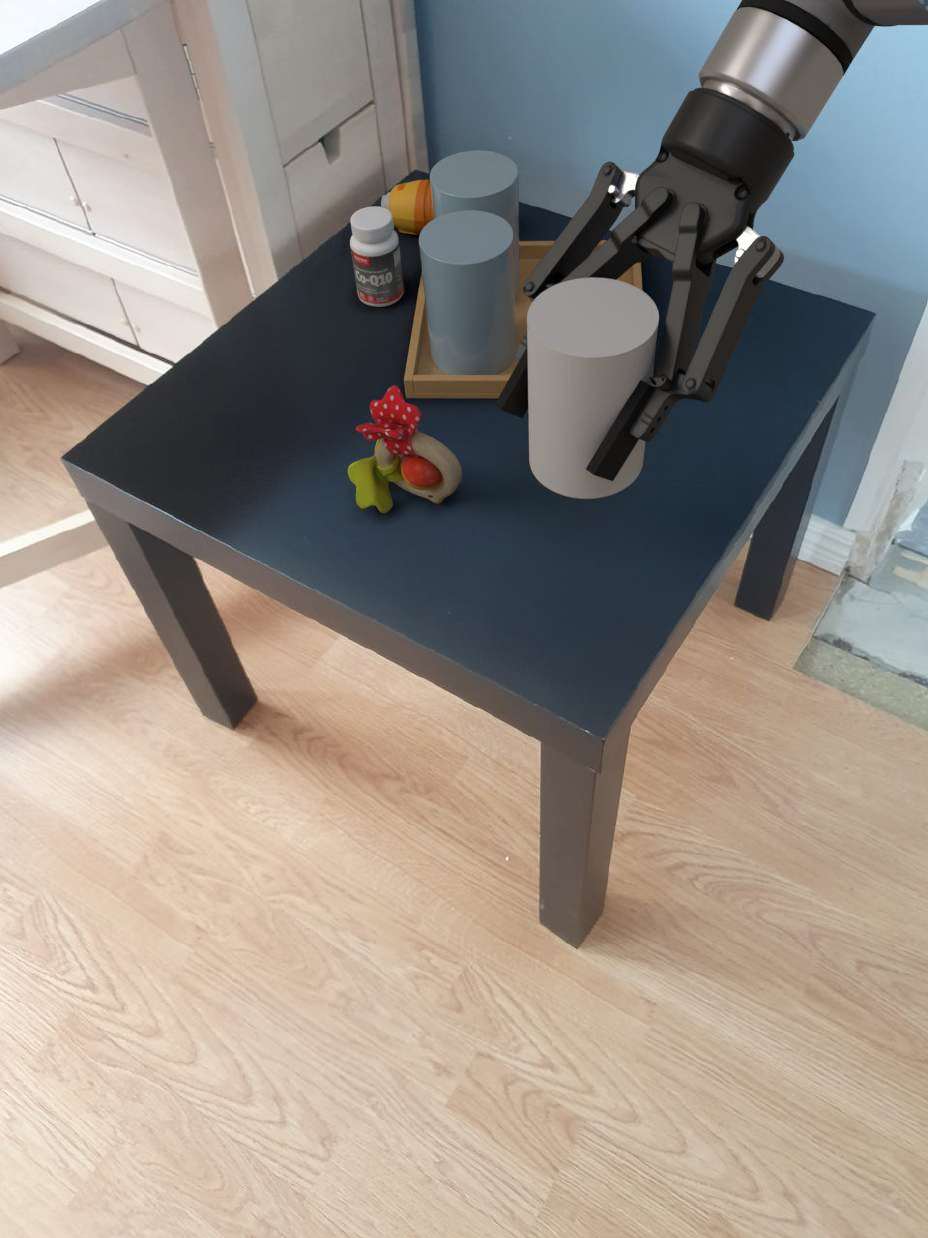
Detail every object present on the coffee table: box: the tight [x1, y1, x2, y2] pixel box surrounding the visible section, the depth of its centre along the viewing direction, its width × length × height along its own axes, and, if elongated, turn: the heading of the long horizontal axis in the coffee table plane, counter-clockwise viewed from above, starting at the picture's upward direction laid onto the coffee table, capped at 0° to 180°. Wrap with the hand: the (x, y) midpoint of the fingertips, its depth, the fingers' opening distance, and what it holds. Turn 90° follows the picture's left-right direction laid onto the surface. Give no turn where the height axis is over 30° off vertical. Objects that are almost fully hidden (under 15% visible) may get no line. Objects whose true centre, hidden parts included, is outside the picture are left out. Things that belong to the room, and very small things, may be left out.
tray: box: [403, 239, 644, 400], centre depth 95 cm, size 22×22×2 cm
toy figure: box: [380, 179, 434, 236], centre depth 104 cm, size 5×6×12 cm
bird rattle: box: [347, 384, 463, 514], centre depth 79 cm, size 6×11×9 cm
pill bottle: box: [349, 205, 405, 308], centre depth 97 cm, size 5×5×8 cm
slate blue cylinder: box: [418, 210, 516, 375], centre depth 88 cm, size 8×8×12 cm
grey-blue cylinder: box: [429, 149, 520, 298], centre depth 94 cm, size 8×8×12 cm
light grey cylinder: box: [527, 278, 660, 500], centre depth 67 cm, size 8×8×12 cm
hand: (552, 442), depth 67 cm, fingers closed on light grey cylinder, 8 cm apart
